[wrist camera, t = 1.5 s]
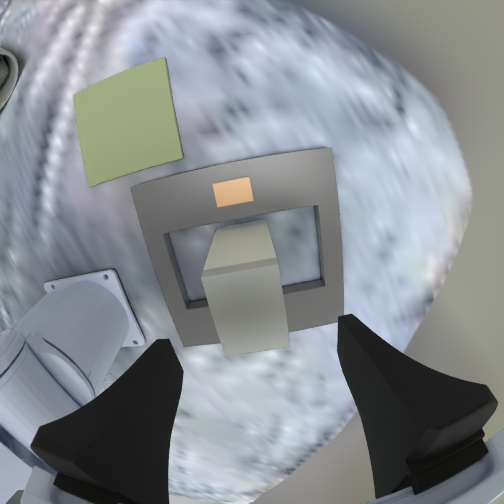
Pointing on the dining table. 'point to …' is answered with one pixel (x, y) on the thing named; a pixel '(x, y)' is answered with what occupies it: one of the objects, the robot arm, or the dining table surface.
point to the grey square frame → (240, 206)
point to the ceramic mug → (7, 75)
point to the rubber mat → (127, 122)
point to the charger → (245, 289)
